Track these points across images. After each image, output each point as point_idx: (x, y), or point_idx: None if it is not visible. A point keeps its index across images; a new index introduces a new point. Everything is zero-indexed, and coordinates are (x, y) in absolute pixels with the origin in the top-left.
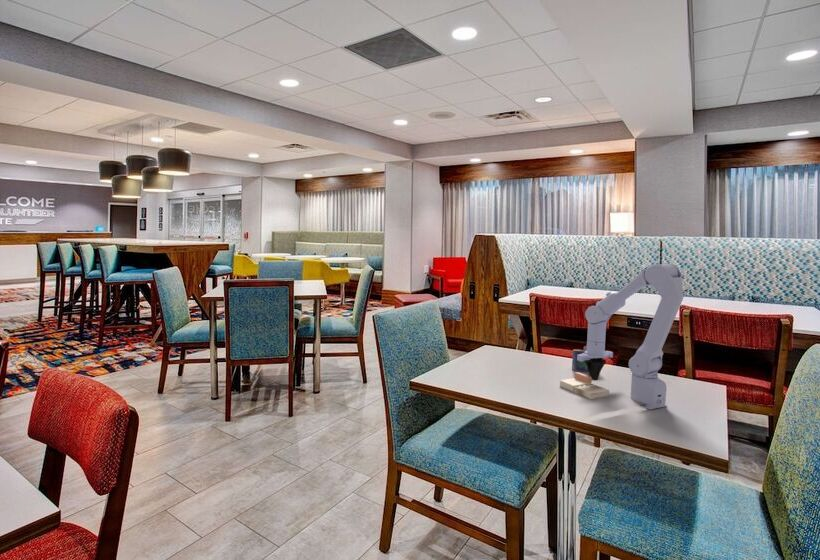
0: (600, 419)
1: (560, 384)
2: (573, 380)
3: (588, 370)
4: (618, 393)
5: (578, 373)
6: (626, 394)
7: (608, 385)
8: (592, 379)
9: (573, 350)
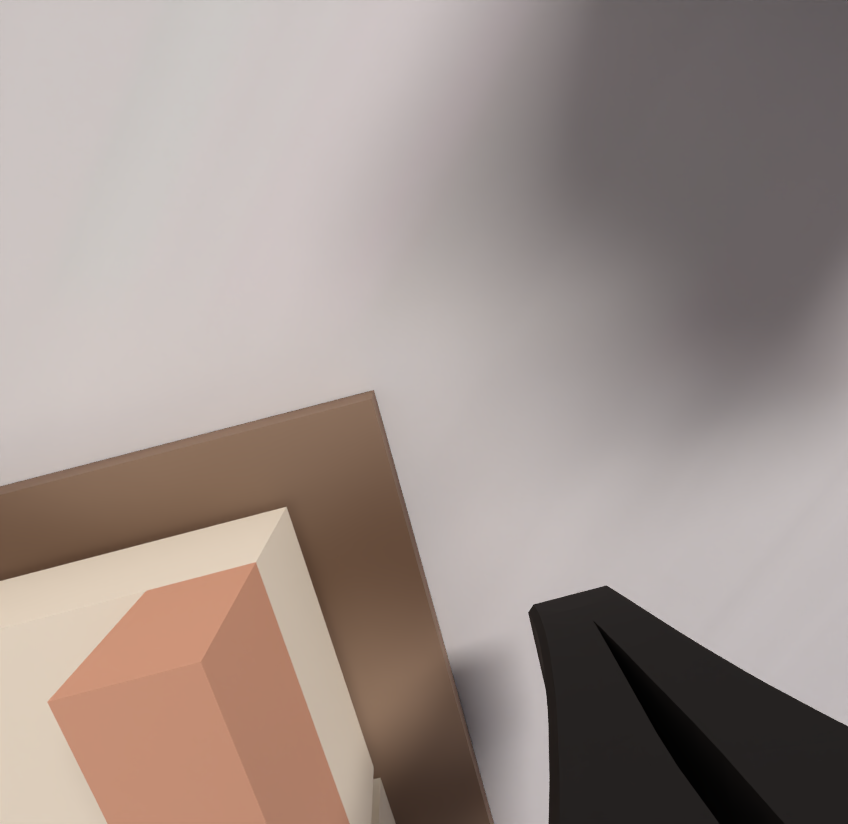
0: None
1: None
2: (46, 737)
3: (551, 754)
4: None
5: (136, 792)
6: None
7: (839, 478)
8: (542, 665)
9: None
